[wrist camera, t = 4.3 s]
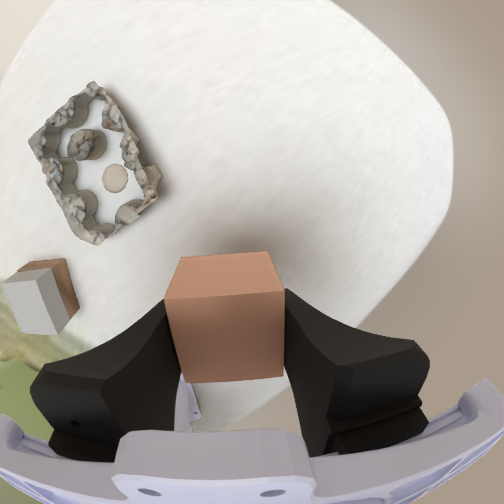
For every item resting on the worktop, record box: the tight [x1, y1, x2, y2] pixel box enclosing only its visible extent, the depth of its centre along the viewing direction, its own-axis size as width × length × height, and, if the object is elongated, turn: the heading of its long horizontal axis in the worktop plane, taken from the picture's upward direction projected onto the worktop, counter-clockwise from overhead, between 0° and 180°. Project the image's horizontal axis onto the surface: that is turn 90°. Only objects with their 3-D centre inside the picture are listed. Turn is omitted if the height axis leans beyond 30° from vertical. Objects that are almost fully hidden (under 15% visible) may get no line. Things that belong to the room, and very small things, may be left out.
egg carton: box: [28, 81, 162, 245], centre depth 16 cm, size 11×8×4 cm
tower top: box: [2, 268, 70, 335], centre depth 17 cm, size 5×5×2 cm
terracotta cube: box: [164, 251, 285, 383], centre depth 11 cm, size 4×4×4 cm
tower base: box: [17, 258, 80, 319], centre depth 20 cm, size 5×5×2 cm
